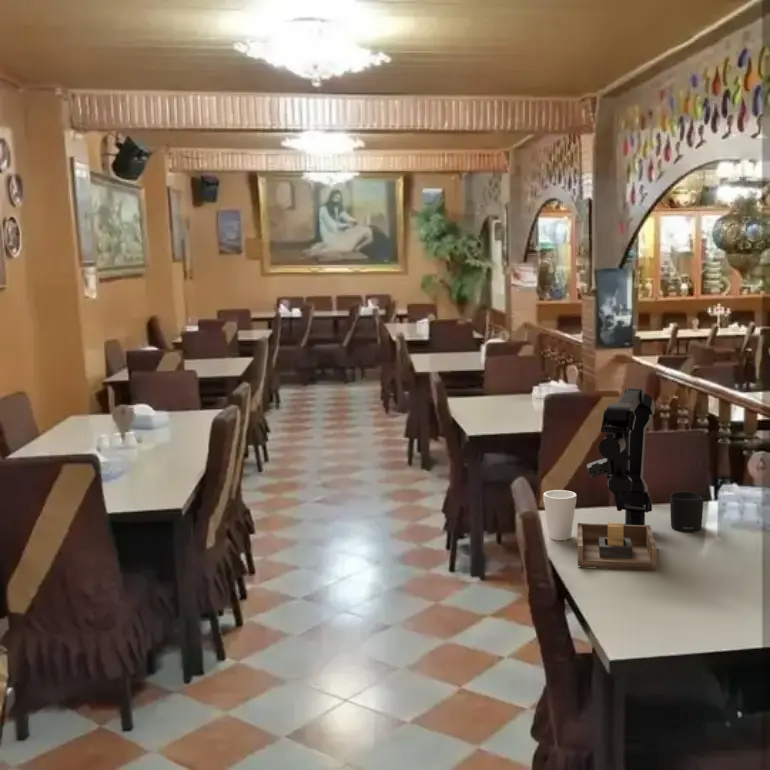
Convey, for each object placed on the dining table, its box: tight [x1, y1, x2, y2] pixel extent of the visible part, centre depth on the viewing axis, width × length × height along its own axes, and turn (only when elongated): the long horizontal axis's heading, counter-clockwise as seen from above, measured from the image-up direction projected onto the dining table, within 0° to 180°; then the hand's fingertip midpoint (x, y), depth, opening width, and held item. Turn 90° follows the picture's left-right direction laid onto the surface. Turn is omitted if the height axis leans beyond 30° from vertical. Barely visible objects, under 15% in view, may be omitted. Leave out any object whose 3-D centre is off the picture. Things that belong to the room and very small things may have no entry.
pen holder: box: [669, 491, 704, 533], centre depth 264 cm, size 9×9×10 cm
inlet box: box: [576, 522, 658, 572], centre depth 242 cm, size 20×20×6 cm
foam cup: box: [542, 489, 577, 541], centre depth 259 cm, size 10×9×13 cm
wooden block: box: [607, 521, 624, 546], centre depth 242 cm, size 4×4×8 cm
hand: (618, 505), depth 245 cm, fingers open, 9 cm apart
